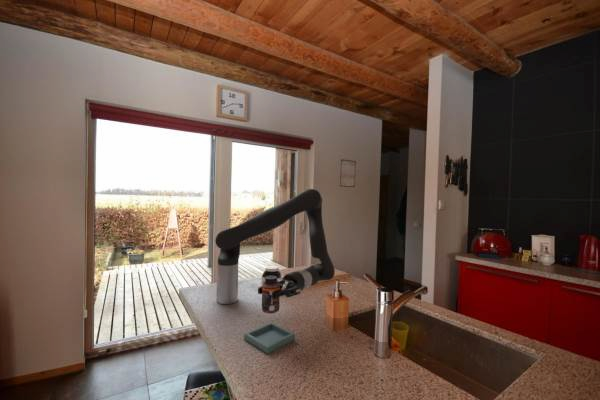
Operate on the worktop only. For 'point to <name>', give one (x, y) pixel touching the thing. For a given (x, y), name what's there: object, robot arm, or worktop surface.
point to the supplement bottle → (270, 295)
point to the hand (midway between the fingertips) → (265, 293)
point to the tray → (269, 337)
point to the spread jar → (272, 273)
